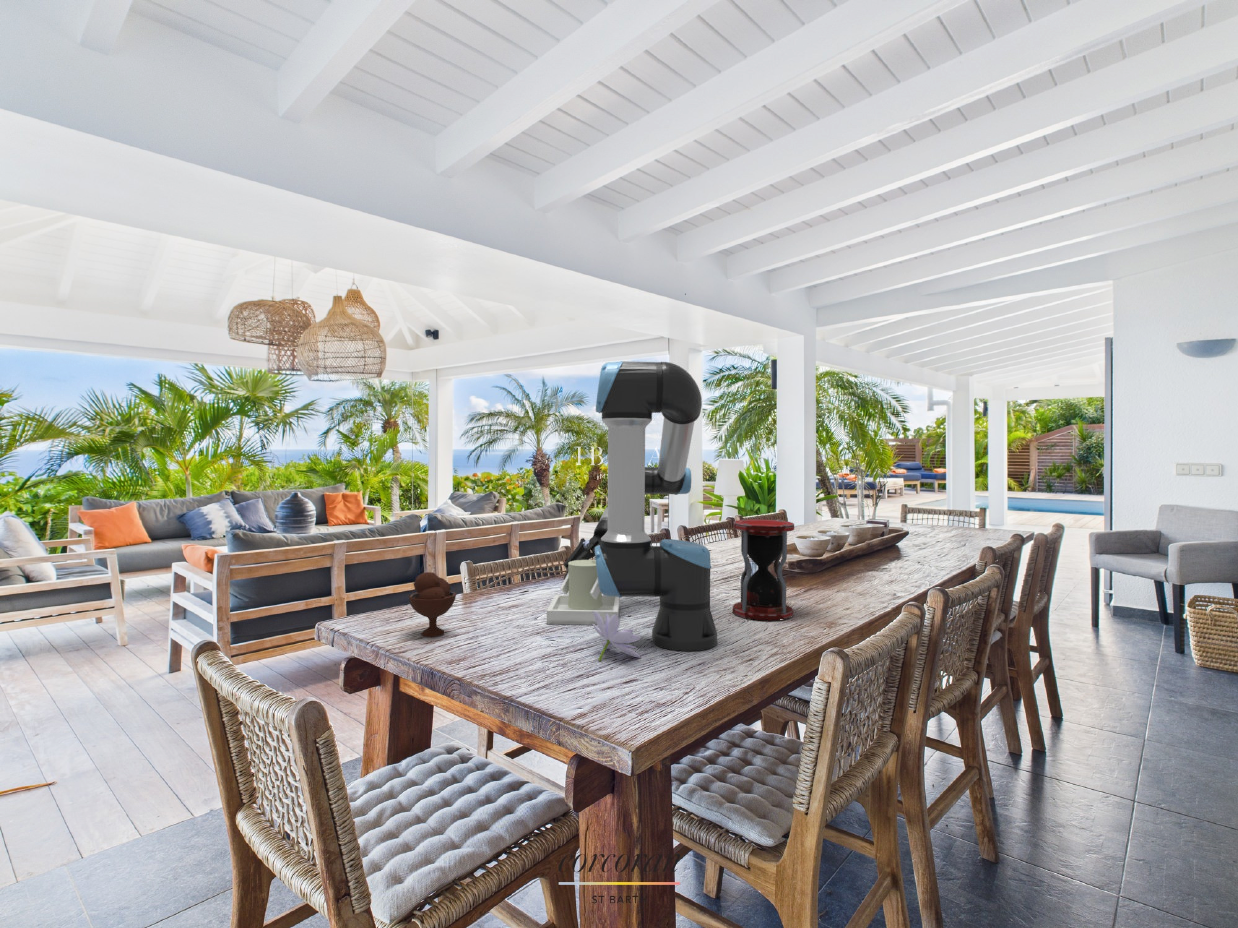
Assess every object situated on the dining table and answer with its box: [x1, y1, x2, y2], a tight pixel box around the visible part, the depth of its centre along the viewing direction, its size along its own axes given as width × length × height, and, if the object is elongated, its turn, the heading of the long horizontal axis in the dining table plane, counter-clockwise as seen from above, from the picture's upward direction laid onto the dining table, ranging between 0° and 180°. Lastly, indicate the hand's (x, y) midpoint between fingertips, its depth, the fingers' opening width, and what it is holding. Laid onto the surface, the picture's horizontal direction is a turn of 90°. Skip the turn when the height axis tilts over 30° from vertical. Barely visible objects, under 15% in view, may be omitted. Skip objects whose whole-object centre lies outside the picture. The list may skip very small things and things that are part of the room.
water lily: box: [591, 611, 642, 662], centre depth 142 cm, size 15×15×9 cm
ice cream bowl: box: [408, 571, 457, 638], centre depth 160 cm, size 11×11×15 cm
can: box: [568, 559, 603, 610], centre depth 178 cm, size 9×9×12 cm
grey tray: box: [546, 594, 621, 626], centre depth 178 cm, size 18×18×4 cm
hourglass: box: [732, 518, 795, 622], centre depth 181 cm, size 16×16×25 cm
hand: (578, 593), depth 175 cm, fingers closed on can, 9 cm apart
